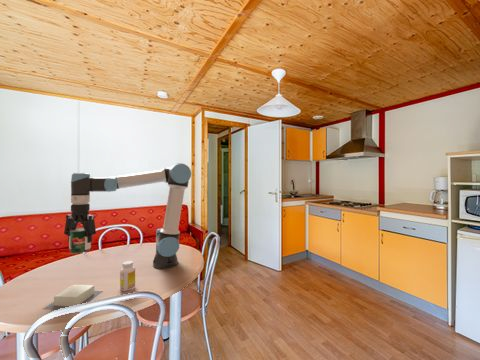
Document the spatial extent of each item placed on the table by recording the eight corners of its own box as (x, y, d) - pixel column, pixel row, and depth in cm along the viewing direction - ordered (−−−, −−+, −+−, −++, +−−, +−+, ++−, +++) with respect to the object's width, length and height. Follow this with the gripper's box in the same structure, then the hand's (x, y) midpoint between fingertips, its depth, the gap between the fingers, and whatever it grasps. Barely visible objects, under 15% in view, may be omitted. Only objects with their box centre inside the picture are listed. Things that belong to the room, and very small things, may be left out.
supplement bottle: (137, 284, 108) (137, 259, 108) (132, 291, 101) (132, 264, 101) (123, 285, 107) (123, 260, 107) (117, 292, 100) (118, 265, 100)
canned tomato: (83, 247, 110) (83, 226, 110) (93, 249, 107) (93, 228, 107) (66, 252, 103) (66, 230, 103) (76, 254, 100) (76, 231, 100)
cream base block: (94, 293, 98) (94, 285, 98) (76, 306, 88) (76, 297, 88) (74, 292, 98) (74, 284, 98) (53, 305, 88) (54, 296, 88)
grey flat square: (103, 292, 100) (103, 291, 100) (76, 311, 85) (76, 310, 85) (73, 290, 101) (73, 289, 101) (42, 309, 86) (42, 308, 86)
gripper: (54, 203, 102) (53, 250, 102) (93, 204, 100) (93, 251, 100) (68, 202, 110) (67, 245, 110) (105, 203, 108) (104, 247, 108)
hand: (79, 248), depth 105 cm, fingers closed on canned tomato, 8 cm apart
